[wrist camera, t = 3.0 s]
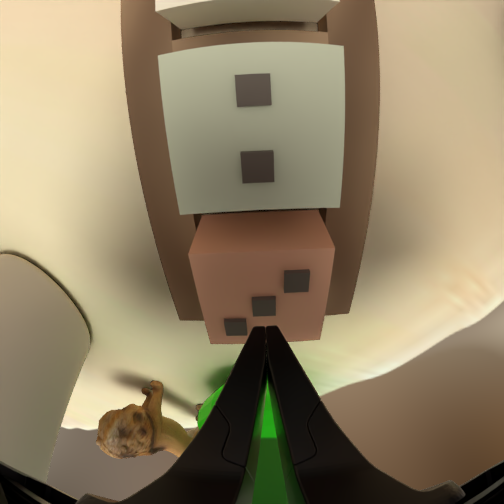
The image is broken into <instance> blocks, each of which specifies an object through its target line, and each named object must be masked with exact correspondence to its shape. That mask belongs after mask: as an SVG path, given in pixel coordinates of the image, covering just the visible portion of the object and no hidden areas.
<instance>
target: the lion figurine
mask: <svg viewBox="0 0 504 504" xmlns="http://www.w3.org/2000/svg"><path fill="white" fill-rule="evenodd" d="M150 385H151V386H152V387H153V388H152V390H153V391H152V390H150V389H148V388H143V389H142V393H143V394H145V395H146V396H147V397H146V400H145V401H144V403H143V405H142V407H141V406H137V405H135V404H130V405H128V406H127V407H125V408H123V409H121V410H120V409H118V410H111V411H109V412H106V414H105V415H103V416H102V418H101V419H100V420H99V427H98V437H97V440H96V444H98V445H99V446H100V449H101V450H103V451H104V452H105V453H106V454H108V455H110V456H111V457H114V458H119V459H122V458H130V457H136V456H142V455H152V454H154V453H156V452H158V451H163V450H166V451H169V452H171V453H173V454H175V455H176V456H177V457H180V456H181V454H182V453H183V452H184V450H185V449H186V448H187V446H188V445H189V444H190V442H191V441H192V440H193V439H194V437H195V436H196V434H197V433H198V431H199V427H196V428H195V429H192V430H190V431H187V432H186V431H185V430H184V428H183V427H182V426H181V425H180V424H179V423H177V422H176V421H174V420H172V419H170V418H167V417H164V416H162V413H161V402H162V394H163V385H162V383H160V382H159V381H152V382H151V383H150ZM201 407H202V404H200V405H197V406H196V409H197V410H198V411H199V410H200V408H201ZM196 421H198V416H197V417H196Z"/></svg>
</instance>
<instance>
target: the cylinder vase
mask: <svg viewBox="0 0 504 504" xmlns="http://www.w3.org/2000/svg"><path fill="white" fill-rule="evenodd" d="M89 349H90V335H89V331H88V328H87V325H86V323H85V321H84V319H83V317H82V315H81V314H80V312H79V310H78V309H77V307H76V306H75V305H74V303H73V302H72V301H71V299H70V298H69V297H68V296H67V294H66V293H65V292H64V291H63V290H62V289H61V288H60V287H59V286H58V285H57V284H56V283H55V282H54V281H53V280H52V279H51V278H50V277H49V276H48V275H47V274H45V273H44V272H43V271H42V270H40V269H39V268H38V267H36V266H35V265H33V264H32V263H30V262H29V261H27V260H25V259H23V258H21V257H18V256H15V255H12V254H0V461H2V462H4V463H5V464H7V465H9V466H11V467H13V468H15V469H17V470H19V471H21V472H23V473H25V474H27V475H29V476H31V477H34V478H36V479H38V480H40V481H42V482H44V483H46V480H47V475H48V471H49V466H50V462H51V458H52V455H53V451H54V447H55V443H56V440H57V436H58V433H59V430H60V427H61V423H62V420H63V417H64V414H65V411H66V408H67V405H68V403H69V400H70V397H71V394H72V392H73V389H74V386H75V384H76V381H77V378H78V376H79V373H80V371H81V368H82V366H83V364H84V361H85V359H86V356H87V354H88V352H89Z"/></svg>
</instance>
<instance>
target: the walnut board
mask: <svg viewBox="0 0 504 504" xmlns="http://www.w3.org/2000/svg"><path fill="white" fill-rule="evenodd" d="M121 36H122V54H123V67H124V78H125V87H126V96H127V104H128V111H129V118H130V125H131V131H132V138H133V143H134V149H135V155H136V160H137V165H138V170H139V175H140V180H141V185H142V189H143V194H144V198H145V202H146V207H147V211H148V215H149V219H150V223H151V227H152V231H153V234H154V238H155V242H156V246H157V249H158V253H159V256H160V260H161V263H162V266H163V270H164V273H165V276H166V280H167V283H168V286H169V289H170V292H171V295H172V298H173V301H174V304H175V307H176V310H177V313H178V316H179V319H180V320H200V321H204V317H203V313H202V310H201V306H200V302H199V298H198V294H197V290H196V286H195V282H194V277H193V273H192V269H191V265H190V260H189V256H188V253H189V251H190V248H191V245H192V242H193V239H194V236H195V233H196V231H197V228H198V225H199V222H200V220H201V217H202V216H201V213H199V214H185V215H180V212H179V207H178V202H177V197H176V191H175V185H174V180H173V174H172V168H171V161H170V155H169V148H168V142H167V135H166V127H165V120H164V112H163V103H162V95H161V85H160V75H159V63H158V55H163V54H167V53H172V52H177V51H182V50H188V49H194V48H200V47H208V46H216V45H225V44H236V43H252V42H303V43H319V44H330V45H339V46H344V68H345V133H344V157H343V174H342V187H341V199H340V208H319V213H320V215H321V218H322V220H323V222H324V224H325V226H326V228H327V231H328V233H329V235H330V237H331V240H332V242H333V244H334V246H335V253H334V260H333V267H332V274H331V281H330V287H329V293H328V299H327V305H326V310H325V315H337V314H347V313H349V311H350V307H351V303H352V299H353V295H354V291H355V287H356V282H357V278H358V273H359V269H360V264H361V259H362V254H363V249H364V244H365V239H366V233H367V227H368V221H369V215H370V208H371V201H372V194H373V186H374V177H375V168H376V157H377V145H378V130H379V105H380V68H379V45H378V31H377V20H376V11H375V3H374V0H340V2H339V3H338V4H336V5H335V6H334V7H333V8H332V9H331V10H330V11H329V12H328V13H327V14H325V15H324V16H323V17H322V18H321V19H320V20H319V21H318V32H317V31H301V30H250V31H235V32H224V33H215V34H207V35H200V36H194V37H188V38H183V39H181V29H180V28H178V27H177V26H176V25H174V24H173V23H172V22H170V21H169V20H167V19H166V18H164V17H163V16H162V15H160V14H159V13H157V12H156V11H155V0H121Z"/></svg>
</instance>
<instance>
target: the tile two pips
mask: <svg viewBox="0 0 504 504" xmlns="http://www.w3.org/2000/svg"><path fill="white" fill-rule="evenodd" d="M158 63H159V75H160V85H161V95H162V103H163V112H164V120H165V127H166V135H167V142H168V148H169V155H170V161H171V168H172V174H173V180H174V185H175V191H176V197H177V202H178V207H179V212H180V215H185V214H199V213H214V212H230V211H249V210H271V209H300V208H340V199H341V187H342V174H343V157H344V133H345V68H344V46H339V45H330V44H319V43H303V42H252V43H236V44H225V45H216V46H208V47H200V48H194V49H188V50H182V51H177V52H172V53H167V54H163V55H158Z"/></svg>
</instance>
